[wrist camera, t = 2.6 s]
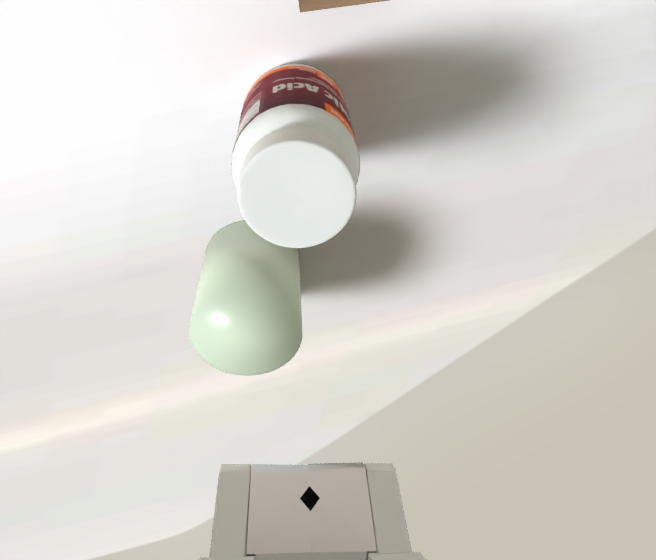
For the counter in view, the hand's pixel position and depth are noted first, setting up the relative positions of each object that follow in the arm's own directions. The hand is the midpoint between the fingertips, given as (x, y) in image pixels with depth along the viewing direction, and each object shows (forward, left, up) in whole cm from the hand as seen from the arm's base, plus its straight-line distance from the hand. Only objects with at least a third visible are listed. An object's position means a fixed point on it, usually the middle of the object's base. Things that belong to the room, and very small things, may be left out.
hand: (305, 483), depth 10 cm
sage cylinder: (+8, -2, -19) cm, 21 cm away
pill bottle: (0, 0, -20) cm, 20 cm away
